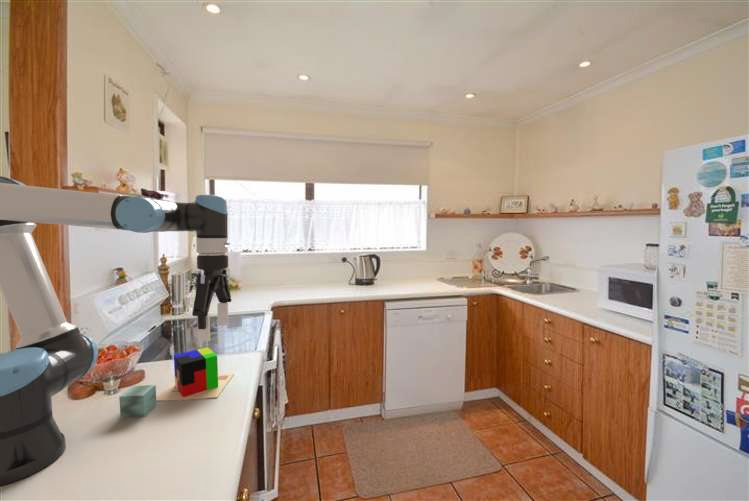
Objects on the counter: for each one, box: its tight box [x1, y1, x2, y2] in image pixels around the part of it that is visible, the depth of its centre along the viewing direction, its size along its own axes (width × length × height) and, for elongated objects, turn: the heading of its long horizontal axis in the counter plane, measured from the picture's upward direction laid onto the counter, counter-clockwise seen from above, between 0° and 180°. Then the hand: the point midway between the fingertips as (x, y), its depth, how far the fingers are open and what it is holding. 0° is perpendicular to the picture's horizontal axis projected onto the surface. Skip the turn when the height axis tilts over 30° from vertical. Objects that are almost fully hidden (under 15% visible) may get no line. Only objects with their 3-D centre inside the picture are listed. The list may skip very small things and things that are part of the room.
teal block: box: [118, 384, 157, 419], centre depth 93 cm, size 6×6×6 cm
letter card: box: [156, 373, 235, 402], centre depth 107 cm, size 18×16×1 cm
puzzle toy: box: [173, 347, 219, 397], centre depth 107 cm, size 10×10×10 cm
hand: (214, 332), depth 91 cm, fingers open, 13 cm apart
